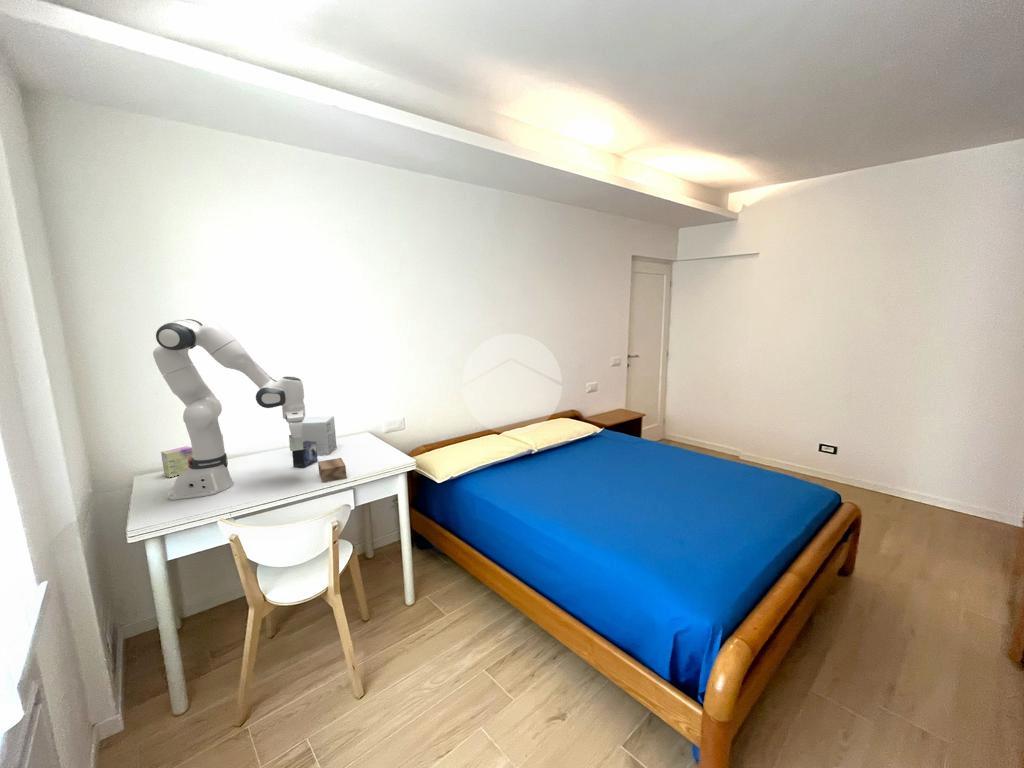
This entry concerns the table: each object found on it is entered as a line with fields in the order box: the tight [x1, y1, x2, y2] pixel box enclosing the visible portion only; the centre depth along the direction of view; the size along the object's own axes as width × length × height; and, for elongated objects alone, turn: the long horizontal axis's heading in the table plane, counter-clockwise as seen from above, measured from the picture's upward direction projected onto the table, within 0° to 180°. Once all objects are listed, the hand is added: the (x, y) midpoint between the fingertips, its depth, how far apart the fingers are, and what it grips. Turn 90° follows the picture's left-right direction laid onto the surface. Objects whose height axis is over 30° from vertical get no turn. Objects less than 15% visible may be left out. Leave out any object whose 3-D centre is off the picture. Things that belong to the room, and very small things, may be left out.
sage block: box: [288, 434, 303, 452], centre depth 188 cm, size 5×5×6 cm
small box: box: [291, 441, 319, 469], centre depth 209 cm, size 11×6×10 cm, turn 168°
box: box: [160, 445, 193, 479], centre depth 198 cm, size 10×6×12 cm, turn 149°
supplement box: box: [302, 415, 338, 456], centre depth 227 cm, size 17×13×18 cm
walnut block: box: [317, 457, 347, 483], centre depth 194 cm, size 10×12×6 cm
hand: (296, 443), depth 188 cm, fingers closed on sage block, 5 cm apart
